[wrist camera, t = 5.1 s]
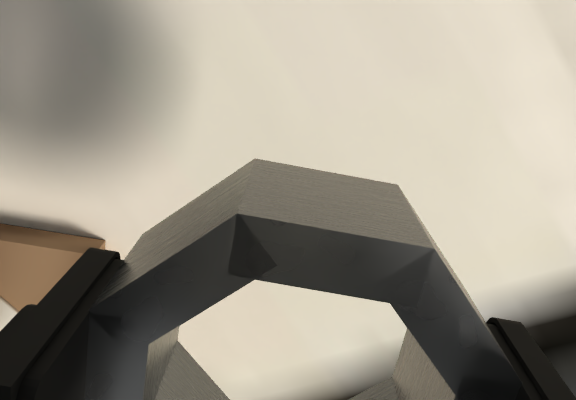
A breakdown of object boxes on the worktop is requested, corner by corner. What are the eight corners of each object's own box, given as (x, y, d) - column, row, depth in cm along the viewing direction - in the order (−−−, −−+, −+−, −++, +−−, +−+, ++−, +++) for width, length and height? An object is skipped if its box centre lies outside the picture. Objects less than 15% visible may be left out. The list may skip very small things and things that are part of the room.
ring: (497, 202, 10) (570, 273, 8) (407, 463, 13) (437, 591, 10) (152, 139, 10) (93, 187, 7) (125, 418, 12) (73, 537, 10)
